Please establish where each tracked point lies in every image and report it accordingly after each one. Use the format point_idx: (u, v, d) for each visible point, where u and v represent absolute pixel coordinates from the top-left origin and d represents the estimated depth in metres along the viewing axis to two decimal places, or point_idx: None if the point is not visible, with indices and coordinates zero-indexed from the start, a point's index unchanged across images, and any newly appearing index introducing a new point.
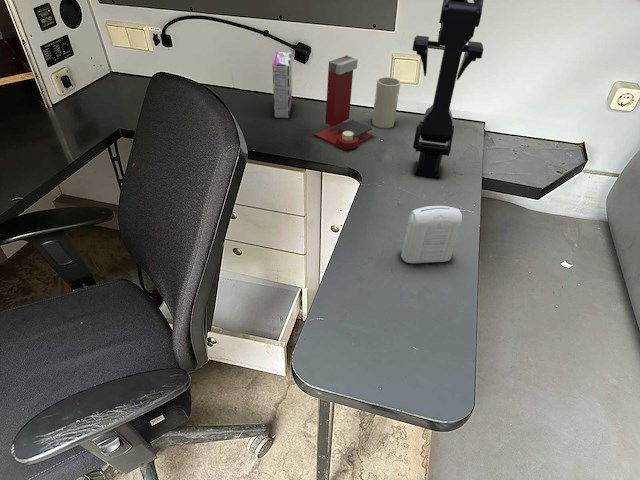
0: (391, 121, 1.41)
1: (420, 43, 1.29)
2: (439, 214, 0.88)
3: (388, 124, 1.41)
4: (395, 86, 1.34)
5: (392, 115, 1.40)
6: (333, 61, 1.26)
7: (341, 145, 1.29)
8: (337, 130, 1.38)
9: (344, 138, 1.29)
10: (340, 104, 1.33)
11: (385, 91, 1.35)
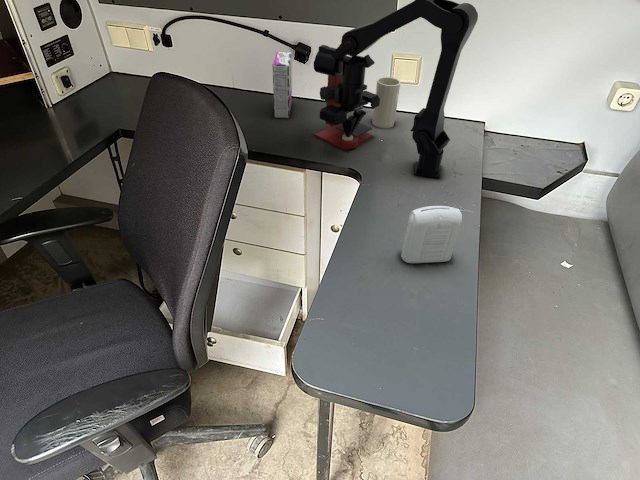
0: (391, 121, 1.41)
1: (340, 115, 1.18)
2: (439, 214, 0.88)
3: (388, 124, 1.41)
4: (395, 86, 1.34)
5: (392, 115, 1.40)
6: None
7: (341, 145, 1.29)
8: (337, 130, 1.38)
9: None
10: (340, 104, 1.33)
11: (385, 91, 1.35)
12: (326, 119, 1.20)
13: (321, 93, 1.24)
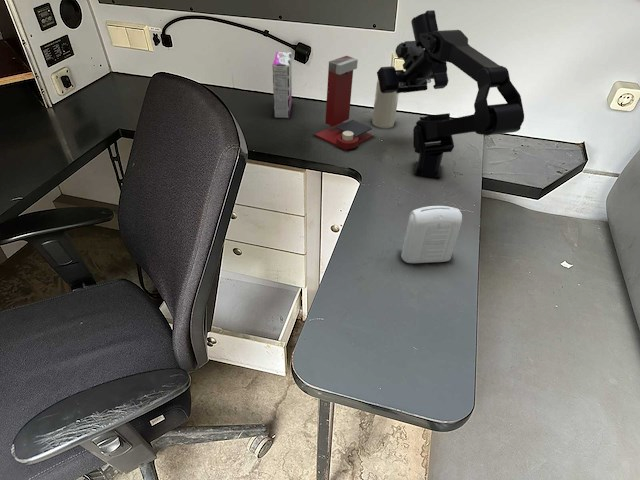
0: (391, 121, 1.41)
1: (390, 88, 1.19)
2: (439, 214, 0.88)
3: (388, 124, 1.41)
4: None
5: (392, 115, 1.40)
6: (333, 61, 1.26)
7: (341, 145, 1.29)
8: (337, 130, 1.38)
9: (344, 138, 1.29)
10: (340, 104, 1.33)
11: None
12: (379, 80, 1.21)
13: (397, 48, 1.19)
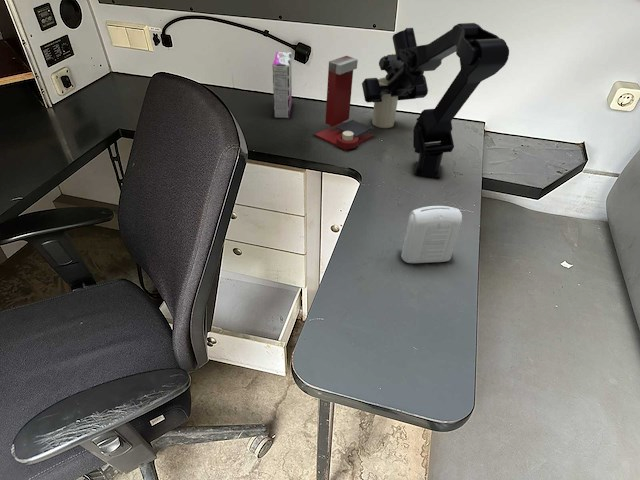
0: (391, 121, 1.41)
1: (374, 98, 1.30)
2: (439, 214, 0.88)
3: (388, 124, 1.41)
4: None
5: (392, 115, 1.40)
6: (333, 61, 1.26)
7: (341, 145, 1.29)
8: (337, 130, 1.38)
9: (344, 138, 1.29)
10: (340, 104, 1.33)
11: None
12: (363, 90, 1.31)
13: (380, 61, 1.30)
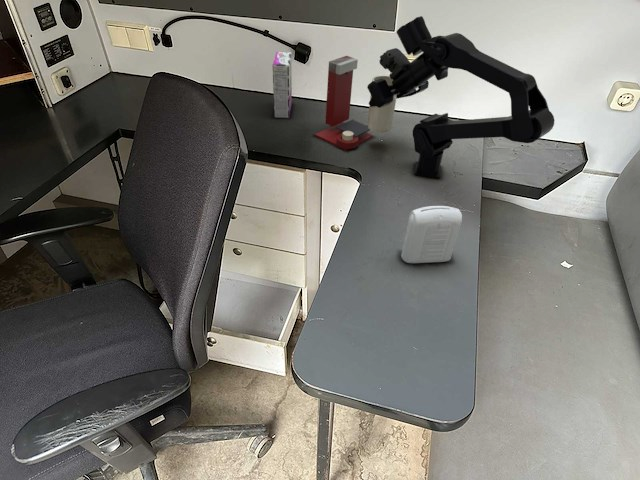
0: (392, 123, 1.27)
1: (387, 101, 1.14)
2: (439, 214, 0.88)
3: (389, 127, 1.27)
4: None
5: (393, 116, 1.26)
6: (333, 61, 1.26)
7: (341, 145, 1.29)
8: (337, 130, 1.38)
9: (344, 138, 1.29)
10: (340, 104, 1.33)
11: None
12: (372, 95, 1.14)
13: (383, 59, 1.13)
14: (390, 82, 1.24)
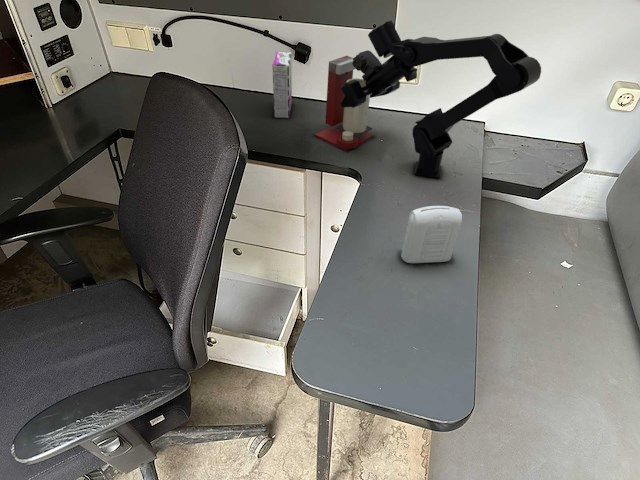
0: (366, 124, 1.33)
1: (360, 101, 1.19)
2: (439, 214, 0.88)
3: (364, 127, 1.32)
4: None
5: (366, 117, 1.31)
6: (333, 61, 1.26)
7: (341, 145, 1.29)
8: (337, 130, 1.38)
9: (344, 138, 1.29)
10: (340, 104, 1.33)
11: None
12: (346, 95, 1.19)
13: (356, 61, 1.19)
14: (363, 85, 1.29)
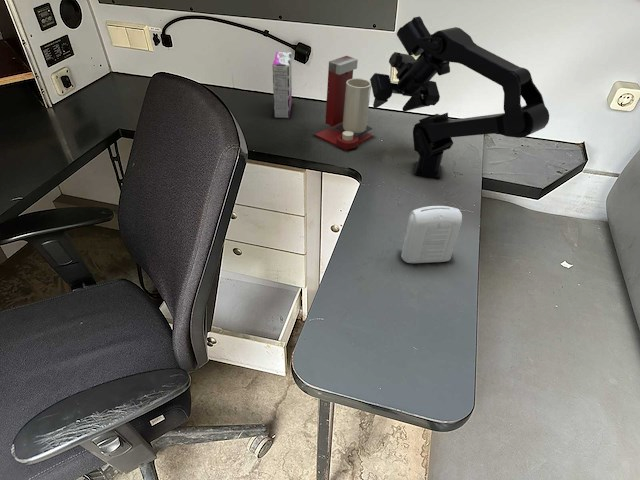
0: (366, 124, 1.33)
1: (384, 93, 1.14)
2: (439, 214, 0.88)
3: (364, 127, 1.32)
4: (369, 86, 1.25)
5: (366, 117, 1.31)
6: (333, 61, 1.26)
7: (341, 145, 1.29)
8: (337, 130, 1.38)
9: (344, 138, 1.29)
10: (340, 104, 1.33)
11: (361, 94, 1.25)
12: (372, 85, 1.16)
13: (392, 57, 1.17)
14: (363, 85, 1.29)
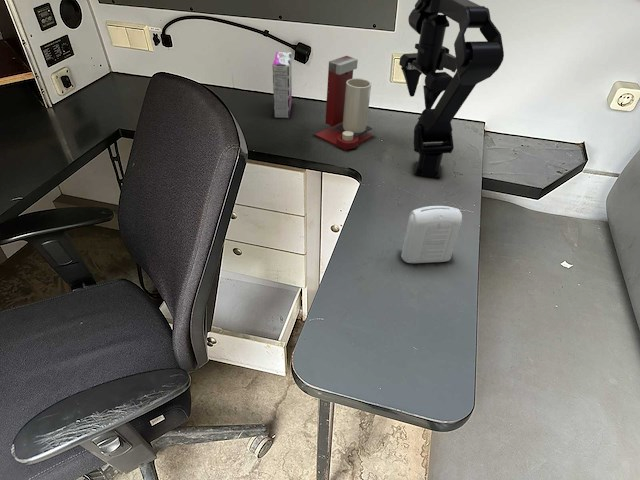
0: (366, 124, 1.33)
1: (403, 58, 1.24)
2: (439, 214, 0.88)
3: (364, 127, 1.32)
4: (369, 86, 1.25)
5: (366, 117, 1.31)
6: (333, 61, 1.26)
7: (341, 145, 1.29)
8: (337, 130, 1.38)
9: (344, 138, 1.29)
10: (340, 104, 1.33)
11: (361, 94, 1.25)
12: None
13: None
14: (363, 85, 1.29)
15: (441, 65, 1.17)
